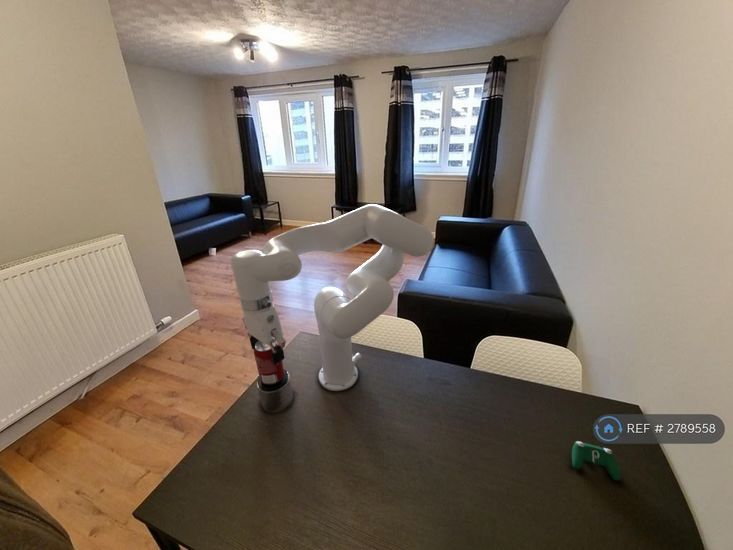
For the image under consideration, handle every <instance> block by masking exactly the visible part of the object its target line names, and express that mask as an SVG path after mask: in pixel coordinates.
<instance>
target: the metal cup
mask: <svg viewBox="0 0 733 550" xmlns="http://www.w3.org/2000/svg"><path fill="white" fill-rule="evenodd" d="M284 372H285V374H284V377H283V378H282V379H281V380H280V381H279V382H277V383H275V384H270V385H267V384H264V383H262V382H261V381H260V377H259V376H258V377H257V380H256V387H257V391H258V397H259V401H260V403H261V404H260V405H261V407H262V409H263V410H264V411H265V412H267V413H279V412H282V411H284V410H286V409H287V408H288V407H290V405H291V404H292V402H293V400H294V395H293V389H292V383H291V378H290V377H291V376H290V374H289V372H288V371H287V370H286V368H284Z"/></svg>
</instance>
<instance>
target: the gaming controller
mask: <svg viewBox="0 0 733 550" xmlns="http://www.w3.org/2000/svg"><path fill="white" fill-rule="evenodd" d="M571 460H572V467H573V469H575V470H577V471H580V469H581V468H582V465H583V463H584V462H587V463H591V464H595V465H598V466H602V467H604V468H605V469H606V471H607V473H608V475H609V476H610V477H611V479H612V480H614V481H620V480H621V471H620V468H619V465H618V462H617V460H616V458H615V456H614V453H613V451H612V450H611V449H610V448H606V447H601V446H599V445H594V444H590V443H586V442H582V441H579V440H577V441H575V442H574V444H573V446H572V449H571ZM583 461H584V462H583Z"/></svg>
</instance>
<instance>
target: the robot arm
mask: <svg viewBox="0 0 733 550" xmlns="http://www.w3.org/2000/svg"><path fill="white" fill-rule="evenodd" d="M371 239H373V240H374V241H375V242H377V243H379V244H382V245H381V247H380V249H379V250H378V251H377V252H376V253H375V254H374V255H373V256H372V257H371V258H369V259H368V260H367V261H365V262H364V263H363V264H362V265H360V266H358V267H357V268H356V269H354V270H353V271H352V272H351V273H350V274H349V275H348V277H347V278H346V280H345V285H346V289H347V290H348V292H349V293H350V294H351V295H352V296H353V298H352V299H350V298H349V296H347V294H346V293H345V292H344V291H343V290H341V289H340V288H338V287H335V286H327V287H326V286H325V287H324V288H322V289H321V290H319V291H318V292H317V294H316V295H315V298H314V301H313V310H314V315H315V319H316V323H317V329H318V337H319V347H320V348H319V349H320V355H321V356H320V357H321V368H320V370H319V371H318V381H319V383H320V385H321V386H322V387H323V388H324V389H327V390H328V391H334V392H339V391H344V390H347V389H349V388H351V387H352V386H353V385H355V384H356V382H357V380H358V377H359V371H358V367H356V364H357V362H358V361H359V360H360V359H361V358H362V354H361V353H360V352H357V353H355V355H354V354H353V347H352V346H353V345H352V344H353V343H352V337H354V336H356V335H357V334H359V333H360V332H362V330H364V329H365V328H366V327H367V326H369V325H370V324H371V323H373V322H374V321H375V320H376V319H378V318H379V317H380V316H381V315H382V314H384V313H385V312H386V311H387V310H388V309H389V307H391V304H392V302H393V300H394V296H395V292H394V287H393V286H392V284H391V283H390V281H391V280H392V279H393V278H394V277H395V276H396V275H397V274H398V273H400V271H401V269H402V267H403V264H404V261H405V257H406V256H405V255H408V256H411V257H416V258H420V257H423V256H425V255H427V254H428V253H429V252H430V251H431V250H432V249H433V246H434V242H435V241H434V235H433V232H432V231H431V230H430V228H429V227H427V226H424V225H422V224H420V223H418V222H415V221H414V220H411V219H409V218H408V217H406V216H403V215H401V214H399V213H398V212H396V211H393V210H391V209H389V208H387V207H384V206H382V205H379V204H376V203H375V204H374V203H369V204H366V205H364V206H361V207H359V208H356V209H355V210H352V211H350V212H347V213H345V214H342V215H340V216H338V217H336V218H333V219H331V220H328V221H326V222H322V223H321V222H320V223H315V224H314V223H313V224H310V225H305V226H300V227H296V228H293V229H290V230H288V231H286V232H283V233H281V234H279V235H276V236H274V237H272V238H271V239H268V241H266V242H265V244H264V245H263V247H262V251H260V250H257V249H245V250H242V251H238V252H236V253H234V254H233V255H232V257H231V259H230V265H231V269H232V273H233V277H234V283H235V286H236V290H237V295H238V299H239V304H240V307H241V310H242V312H243V313H242V315H243V317H242V322H243V323H244V325H245V326H244V329H245V330H246V331H247V336H248V338H249V343H250V347H251V349H252V350H253V351H254V349H255V344H256V343H257V342H258V341H261V342H263V343H264V344H267V345H269V346H270V348H271V350H272V352H271V355H272V360H273V364H275V365H276V364H277V363H279V362H280V361H283V360H285V352H284V348H286V343H287V340H286V339H285V338H284V332H283V328H282V324H281V321H280V317H279V313H278V311H277V308H276V306H275V305H274V298H273V293H272V288H271V287H272V286H271V283H270V282H283V281H284V282H285V281H291V280H293V279H295V278H296V277H297V276H299V274H300V273H301V271H302V268H303V264H302V260H301V258H300V256H301V255H303V254H306V253H311V252H326V253H332V254H333V253H335V254H336V253H337V254H338V253H343V252H345V251H346V250H349V249H351V248H353V247H356V246H357V245H360V244H362V243H364V242H366V241H368V240H371ZM272 338H274V340H272V341H271V339H272ZM275 341H276V342H277V343H278V346H276V347H274V345H273V344H272V343H273V342H275Z"/></svg>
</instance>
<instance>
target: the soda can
mask: <svg viewBox="0 0 733 550" xmlns="http://www.w3.org/2000/svg"><path fill="white" fill-rule="evenodd" d="M274 339H275V338H274V337H272V339H271V341H272V340H274ZM272 344H273V345H274V347H276V346H278V343H277V342H276V341H275V342H273V343H272ZM271 352H272V350H271V348H270V346H269V345H267V344H264V343H263V342H261V341H258V342H257V343H256V344H255V349H254V350H253V356H254V360H255V364H256V368H257V372H258V377H260V381H261V382H262V383H264V384H267V385H270V384H275V383H277V382H279V381H280V380H281V379H282V378H283V377H284V374H285V372H284V369H285V368H284V367H285V366H284V361H283V360H282V361H280V362H279V363H277V364H276V365H275V364H273V360H272V355H271Z"/></svg>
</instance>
